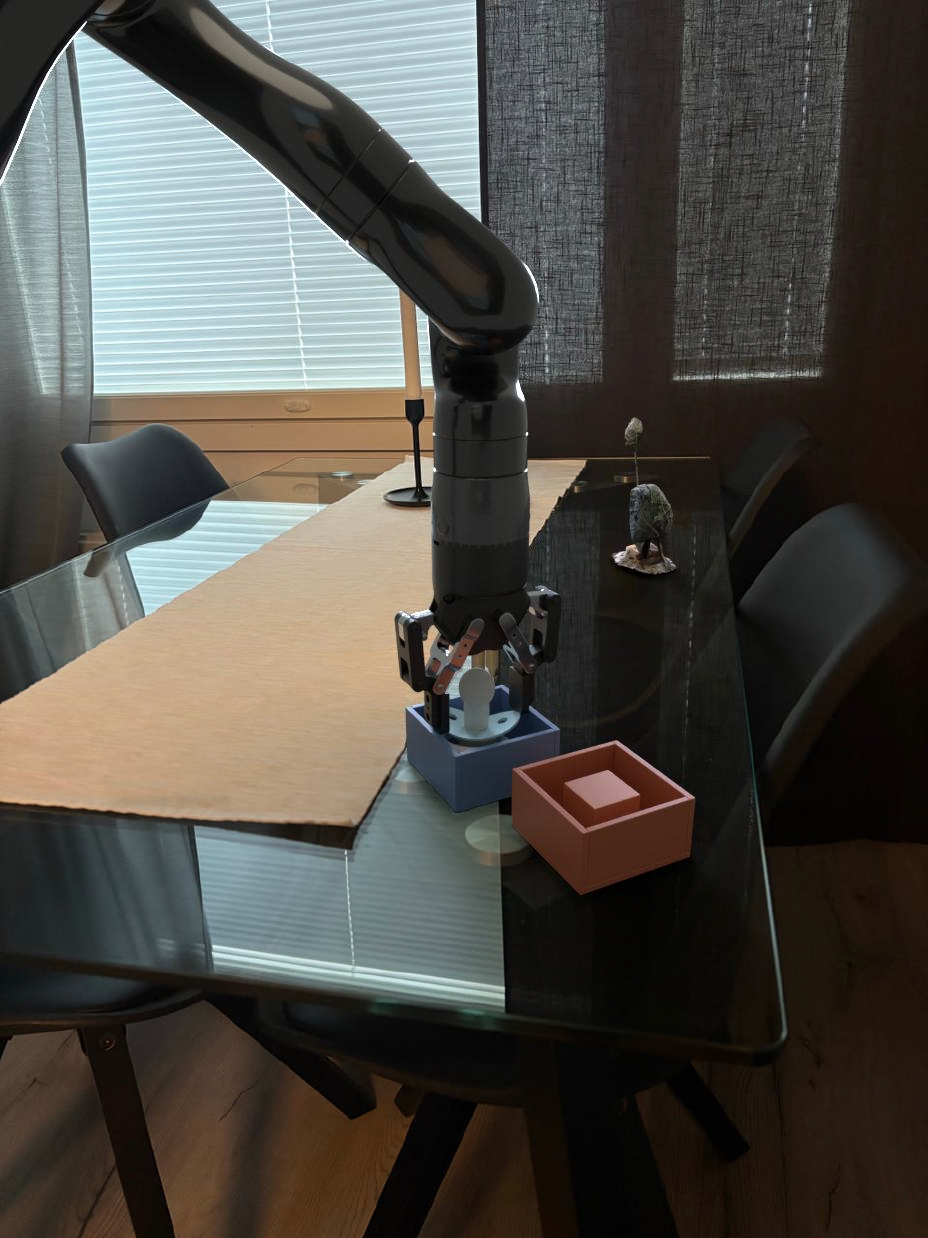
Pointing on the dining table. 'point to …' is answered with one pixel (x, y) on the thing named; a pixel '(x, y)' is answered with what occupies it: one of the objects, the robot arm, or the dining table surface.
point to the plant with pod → (645, 519)
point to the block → (599, 799)
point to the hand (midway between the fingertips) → (479, 719)
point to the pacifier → (478, 714)
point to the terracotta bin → (611, 844)
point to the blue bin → (478, 754)
